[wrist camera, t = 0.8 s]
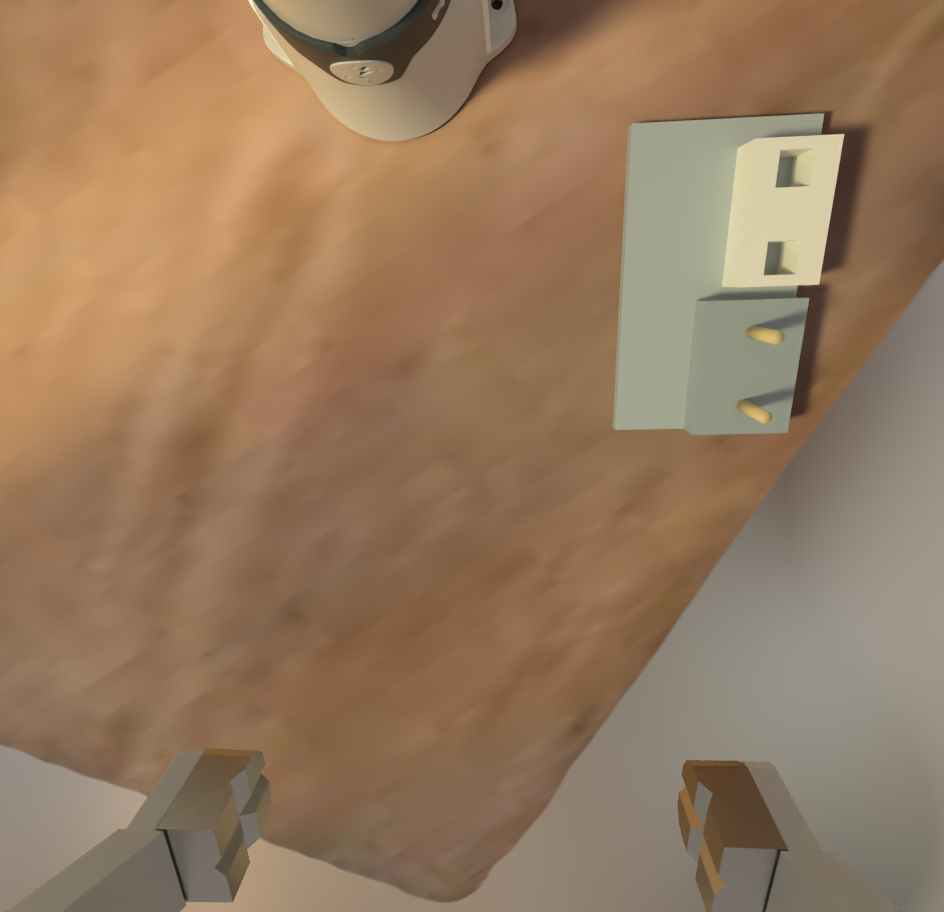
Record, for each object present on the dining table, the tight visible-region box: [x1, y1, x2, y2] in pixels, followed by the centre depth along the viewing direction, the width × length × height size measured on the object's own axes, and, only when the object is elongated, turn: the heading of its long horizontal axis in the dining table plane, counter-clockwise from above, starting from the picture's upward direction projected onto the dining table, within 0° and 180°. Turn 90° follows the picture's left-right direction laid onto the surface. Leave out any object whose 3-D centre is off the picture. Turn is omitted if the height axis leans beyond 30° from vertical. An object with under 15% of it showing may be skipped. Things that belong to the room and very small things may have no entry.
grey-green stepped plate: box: [613, 113, 824, 435], centre depth 41 cm, size 24×14×7 cm, turn 2°
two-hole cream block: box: [722, 134, 844, 287], centre depth 40 cm, size 10×6×3 cm, turn 2°
